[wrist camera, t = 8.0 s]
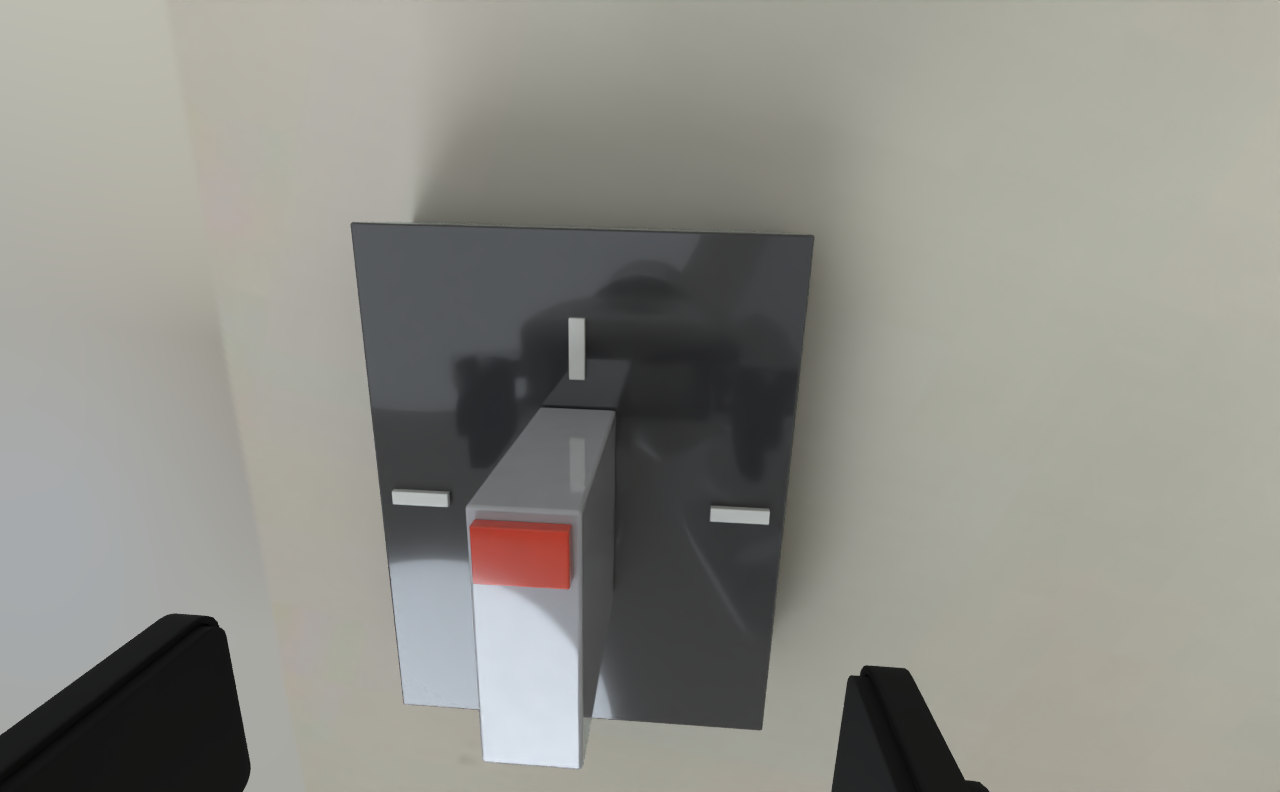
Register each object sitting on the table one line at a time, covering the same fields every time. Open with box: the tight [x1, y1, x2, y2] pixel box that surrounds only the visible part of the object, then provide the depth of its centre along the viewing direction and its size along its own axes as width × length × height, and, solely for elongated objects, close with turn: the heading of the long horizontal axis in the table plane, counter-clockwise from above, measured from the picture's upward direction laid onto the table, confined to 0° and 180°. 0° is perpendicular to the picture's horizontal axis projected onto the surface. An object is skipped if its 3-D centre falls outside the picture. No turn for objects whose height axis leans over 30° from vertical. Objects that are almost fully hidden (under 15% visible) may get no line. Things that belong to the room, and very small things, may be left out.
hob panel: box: [351, 222, 814, 730], centre depth 16 cm, size 13×10×3 cm
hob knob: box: [466, 408, 616, 769], centre depth 12 cm, size 5×2×5 cm, turn 179°
